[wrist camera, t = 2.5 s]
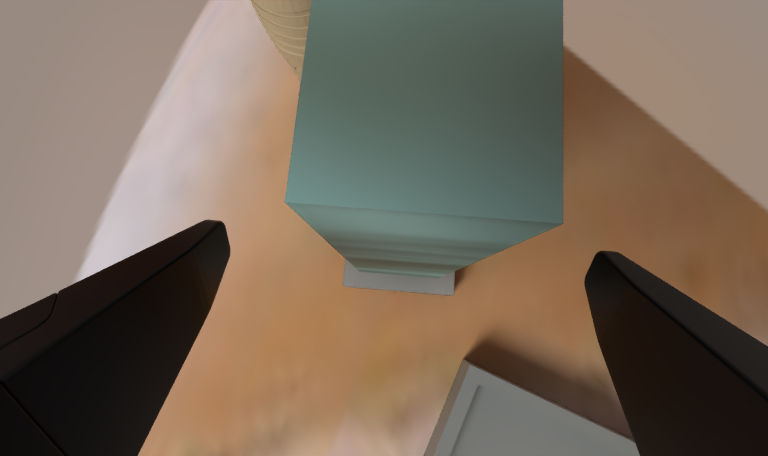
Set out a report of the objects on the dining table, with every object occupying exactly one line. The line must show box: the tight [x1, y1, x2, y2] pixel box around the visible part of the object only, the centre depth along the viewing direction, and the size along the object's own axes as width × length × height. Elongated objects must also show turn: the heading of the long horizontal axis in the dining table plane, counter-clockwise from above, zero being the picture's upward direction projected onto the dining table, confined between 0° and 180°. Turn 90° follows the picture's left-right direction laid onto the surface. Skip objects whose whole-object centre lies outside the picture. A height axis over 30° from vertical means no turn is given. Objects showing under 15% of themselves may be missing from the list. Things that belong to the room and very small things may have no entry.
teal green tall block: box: [285, 0, 563, 296], centre depth 12 cm, size 5×5×14 cm
